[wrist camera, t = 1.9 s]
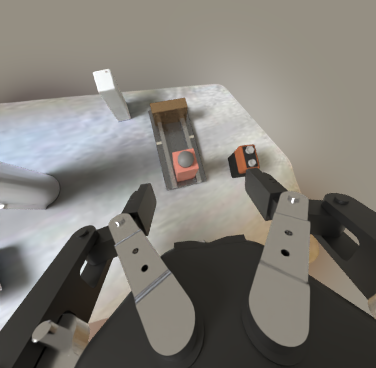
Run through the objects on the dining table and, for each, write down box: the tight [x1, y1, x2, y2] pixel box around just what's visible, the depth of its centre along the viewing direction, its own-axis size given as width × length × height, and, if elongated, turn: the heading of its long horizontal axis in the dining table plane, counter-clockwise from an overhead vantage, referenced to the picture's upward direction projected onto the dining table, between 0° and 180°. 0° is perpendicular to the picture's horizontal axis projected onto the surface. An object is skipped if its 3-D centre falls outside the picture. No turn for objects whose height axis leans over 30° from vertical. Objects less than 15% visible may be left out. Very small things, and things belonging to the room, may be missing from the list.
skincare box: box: [93, 69, 131, 122], centre depth 40 cm, size 6×4×12 cm
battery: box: [228, 145, 260, 178], centre depth 41 cm, size 4×7×10 cm, turn 8°
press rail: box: [149, 98, 206, 190], centre depth 42 cm, size 26×12×8 cm, turn 14°
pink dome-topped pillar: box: [172, 148, 199, 182], centre depth 37 cm, size 5×5×11 cm
